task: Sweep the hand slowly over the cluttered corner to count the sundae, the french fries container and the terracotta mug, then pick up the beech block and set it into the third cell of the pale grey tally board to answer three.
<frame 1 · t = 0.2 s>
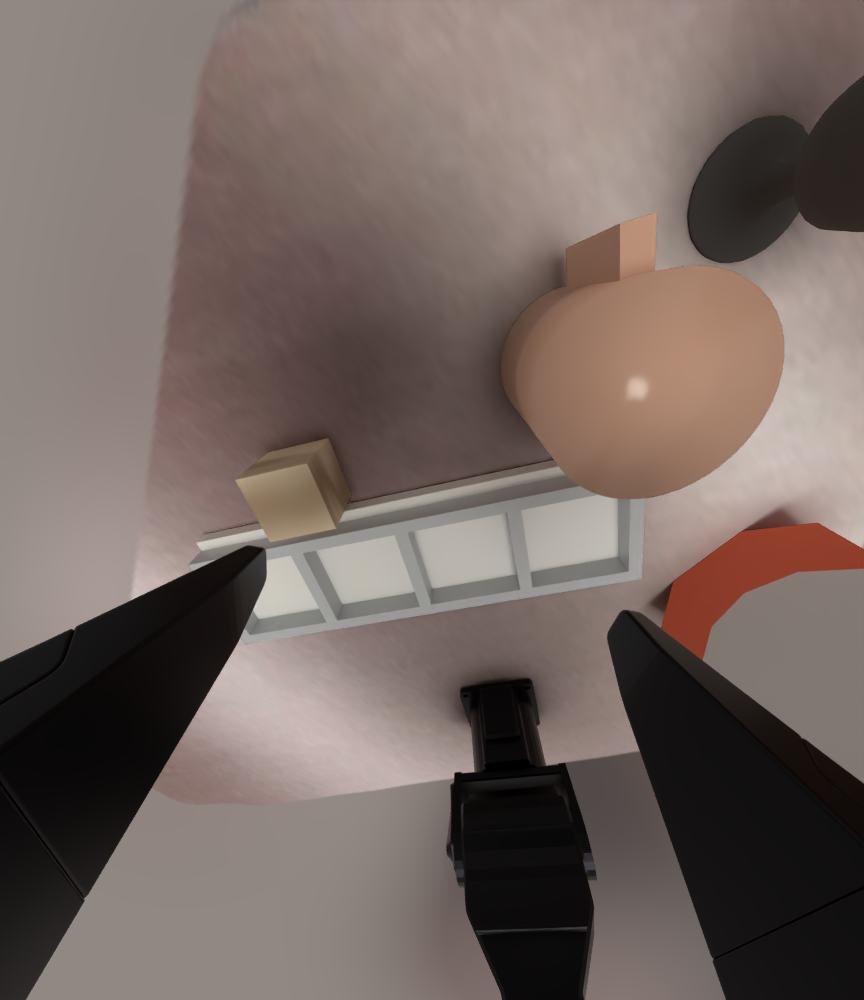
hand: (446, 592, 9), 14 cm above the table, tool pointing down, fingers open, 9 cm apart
french fries container: (723, 570, 26), on the table
terracotta mug: (566, 361, 19), on the table
beech block: (311, 474, 22), on the table
tally board: (416, 548, 25), on the table
sundae: (742, 197, 16), on the table
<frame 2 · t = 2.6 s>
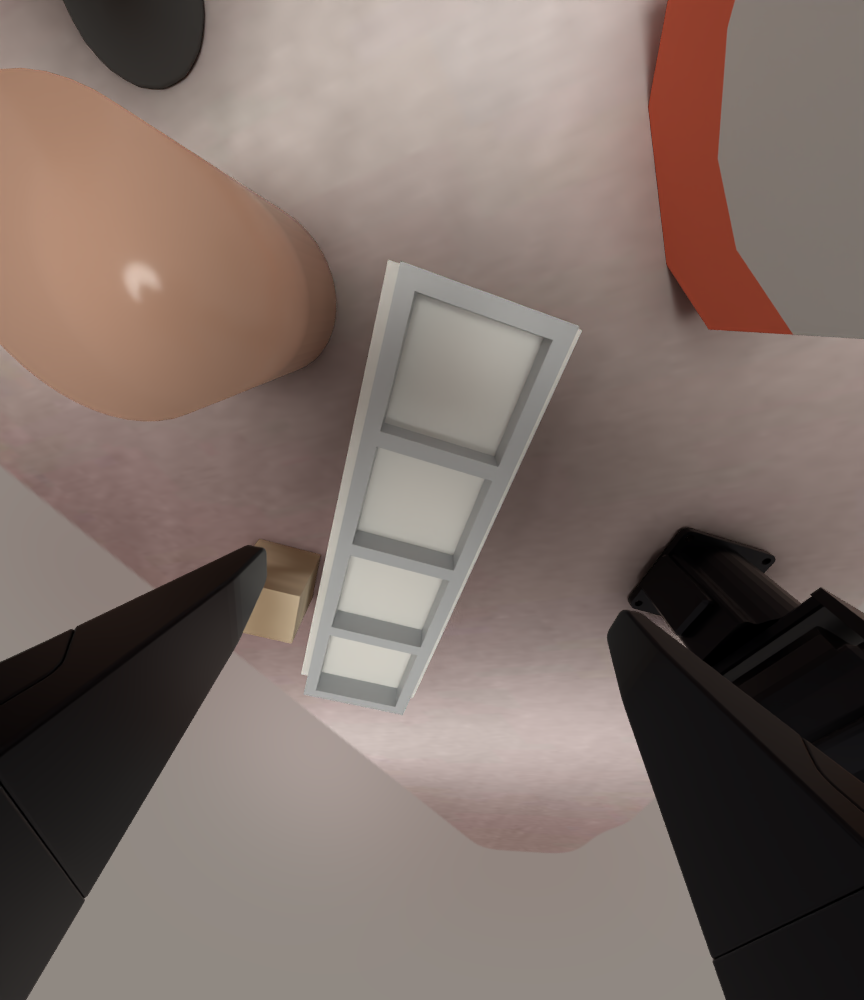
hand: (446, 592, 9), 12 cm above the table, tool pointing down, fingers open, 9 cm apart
french fries container: (713, 164, 14), on the table
terracotta mug: (261, 294, 17), on the table
beech block: (287, 569, 24), on the table
tally board: (405, 538, 23), on the table
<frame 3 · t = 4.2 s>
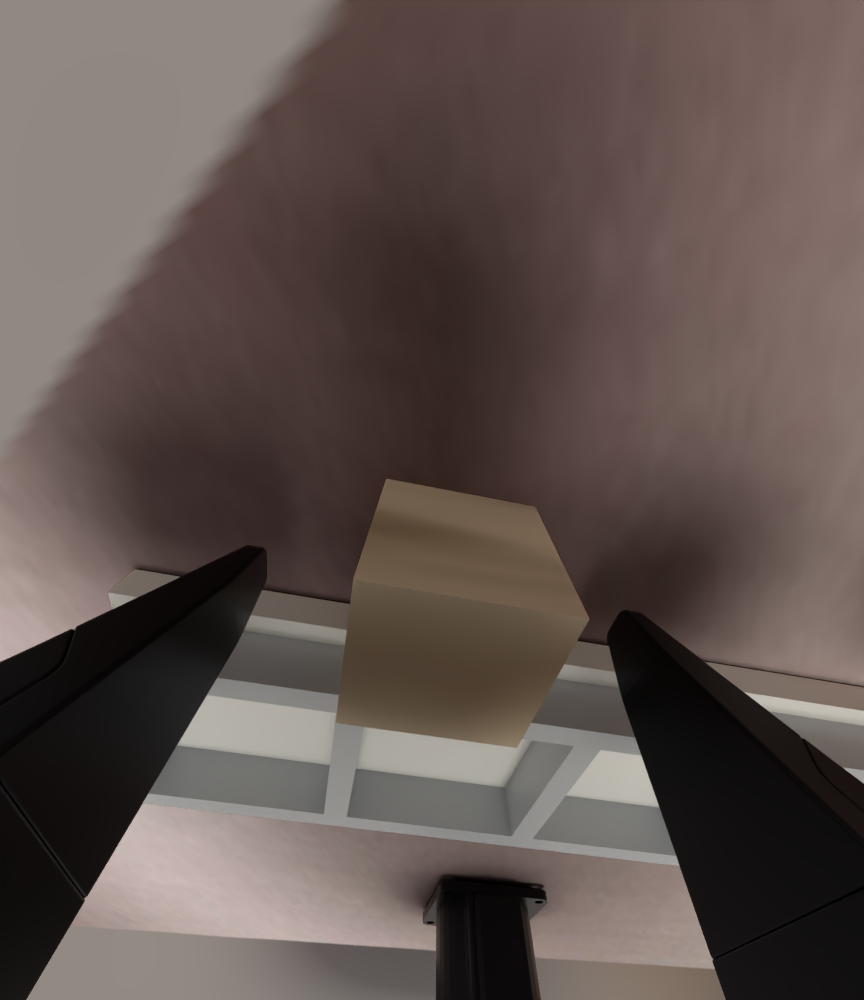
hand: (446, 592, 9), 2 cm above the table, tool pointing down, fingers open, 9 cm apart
beech block: (445, 551, 10), on the table
tally board: (533, 720, 14), on the table
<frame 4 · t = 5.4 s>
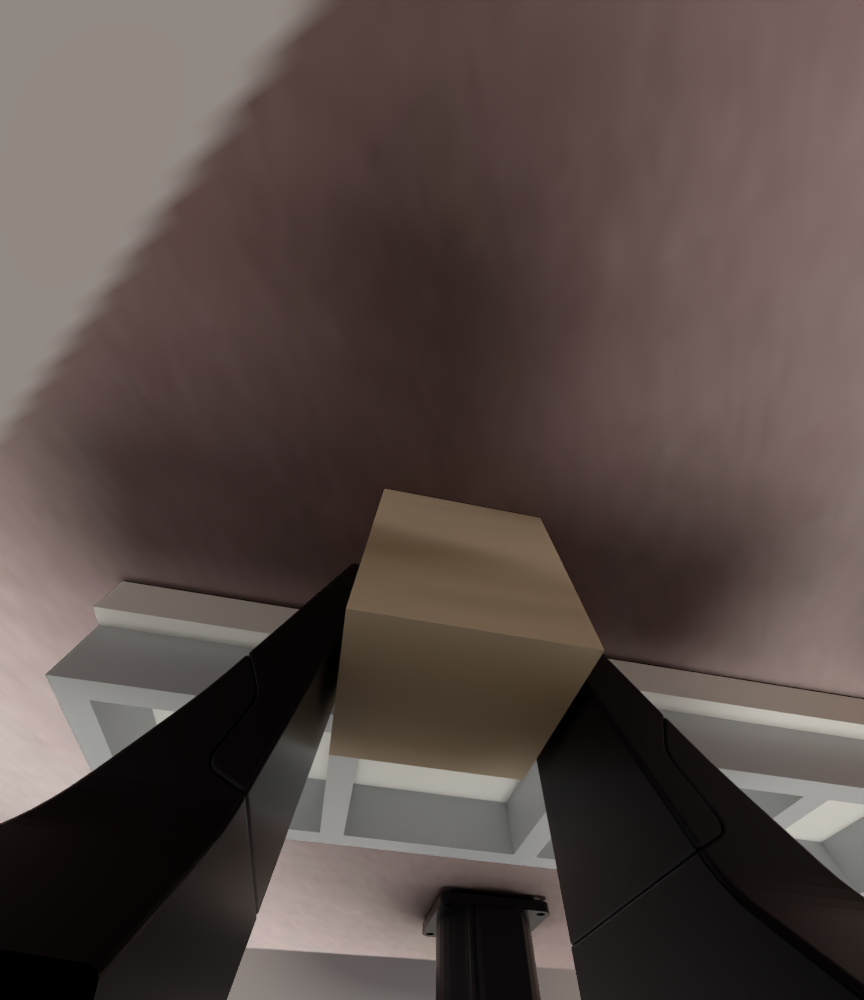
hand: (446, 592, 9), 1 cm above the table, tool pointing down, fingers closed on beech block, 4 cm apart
beech block: (446, 565, 10), on the table, touching gripper
tally board: (535, 734, 13), on the table
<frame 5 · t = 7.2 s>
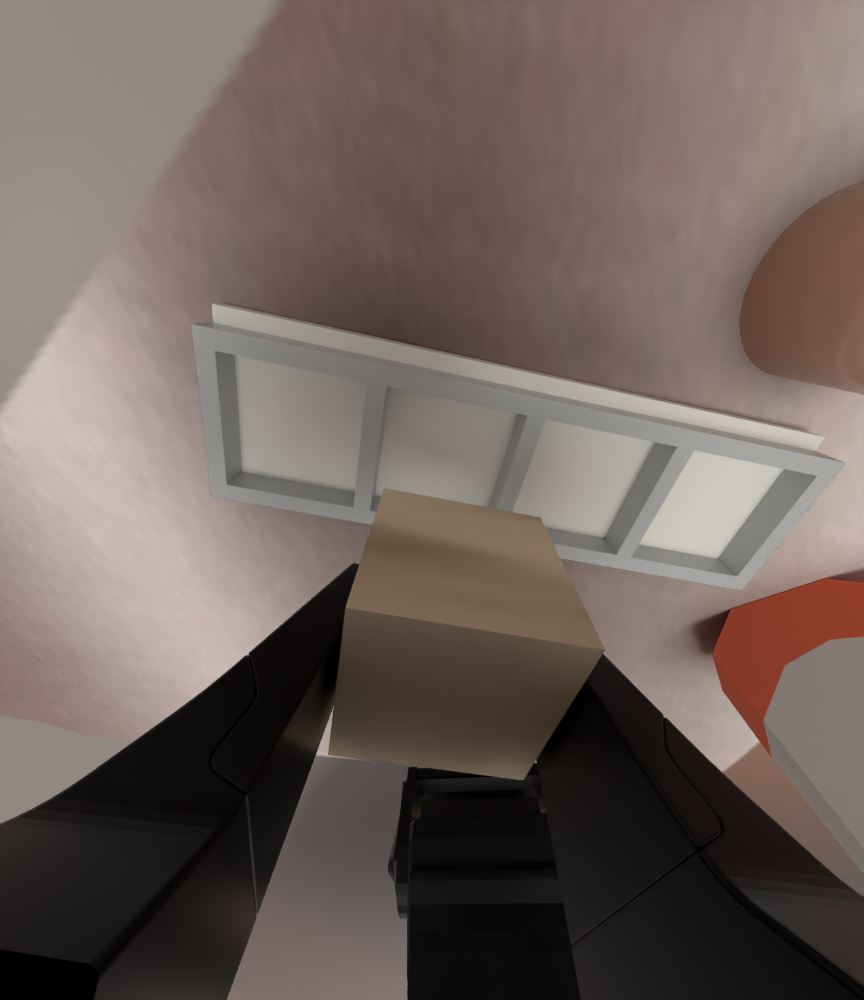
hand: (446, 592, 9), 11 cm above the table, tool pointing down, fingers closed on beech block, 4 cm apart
french fries container: (777, 613, 24), on the table
terracotta mug: (832, 290, 15), on the table
beech block: (446, 565, 10), point 10 cm above the table, touching gripper
tally board: (505, 459, 19), on the table
when the fingers open (3 cm above the table, at t = 9.3 s): beech block drops 1 cm, resting on tally board.
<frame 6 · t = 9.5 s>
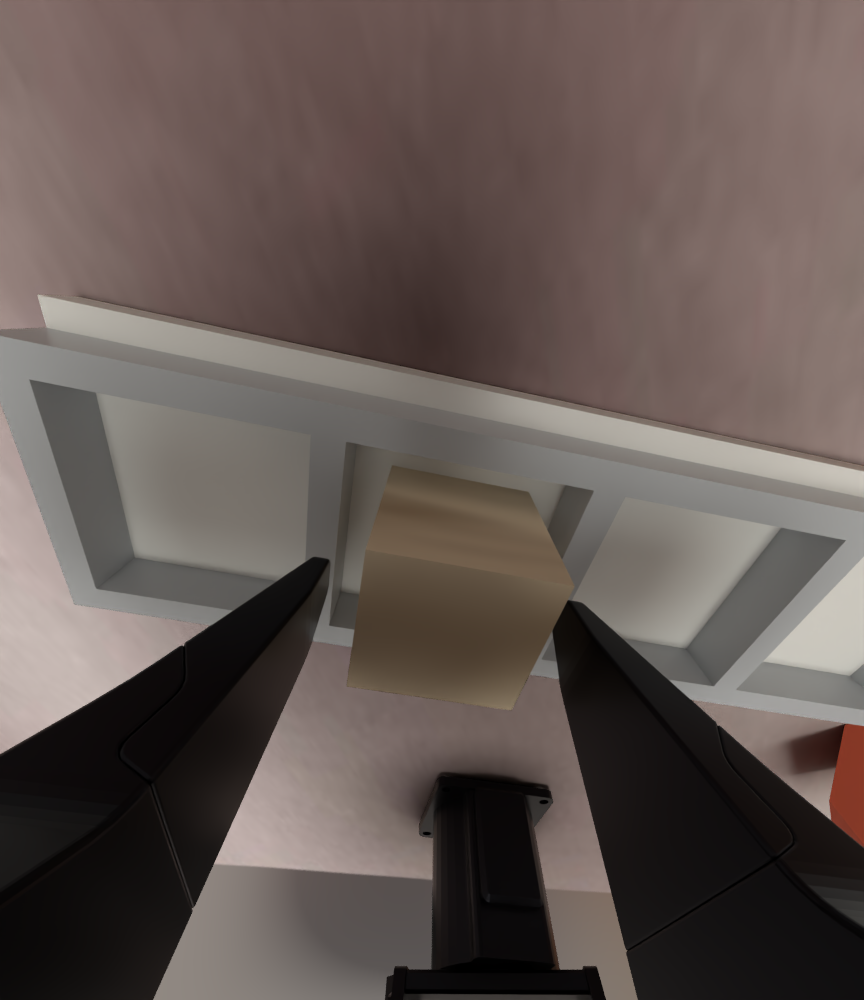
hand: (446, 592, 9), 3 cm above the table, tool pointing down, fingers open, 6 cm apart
beech block: (446, 536, 11), point 1 cm above the table, touching tally board
tally board: (541, 537, 12), on the table
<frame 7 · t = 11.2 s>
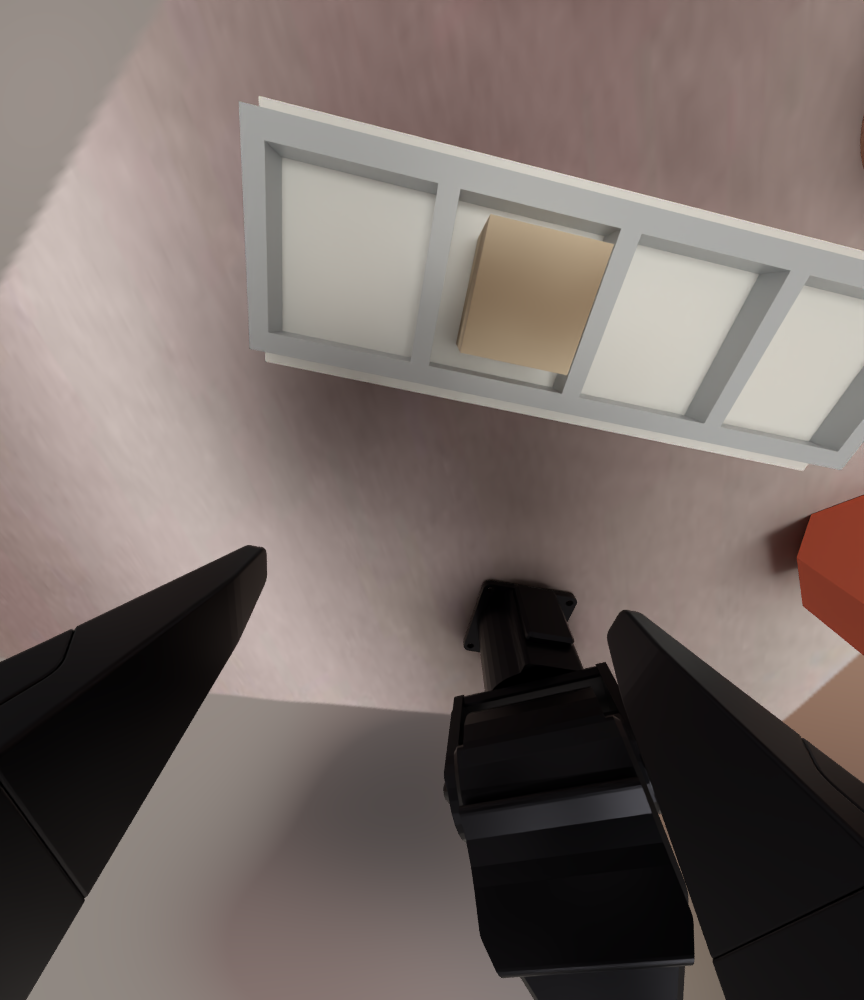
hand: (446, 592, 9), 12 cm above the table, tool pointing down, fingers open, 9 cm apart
french fries container: (861, 521, 22), on the table
beech block: (511, 303, 15), point 1 cm above the table, touching tally board
tally board: (577, 319, 17), on the table
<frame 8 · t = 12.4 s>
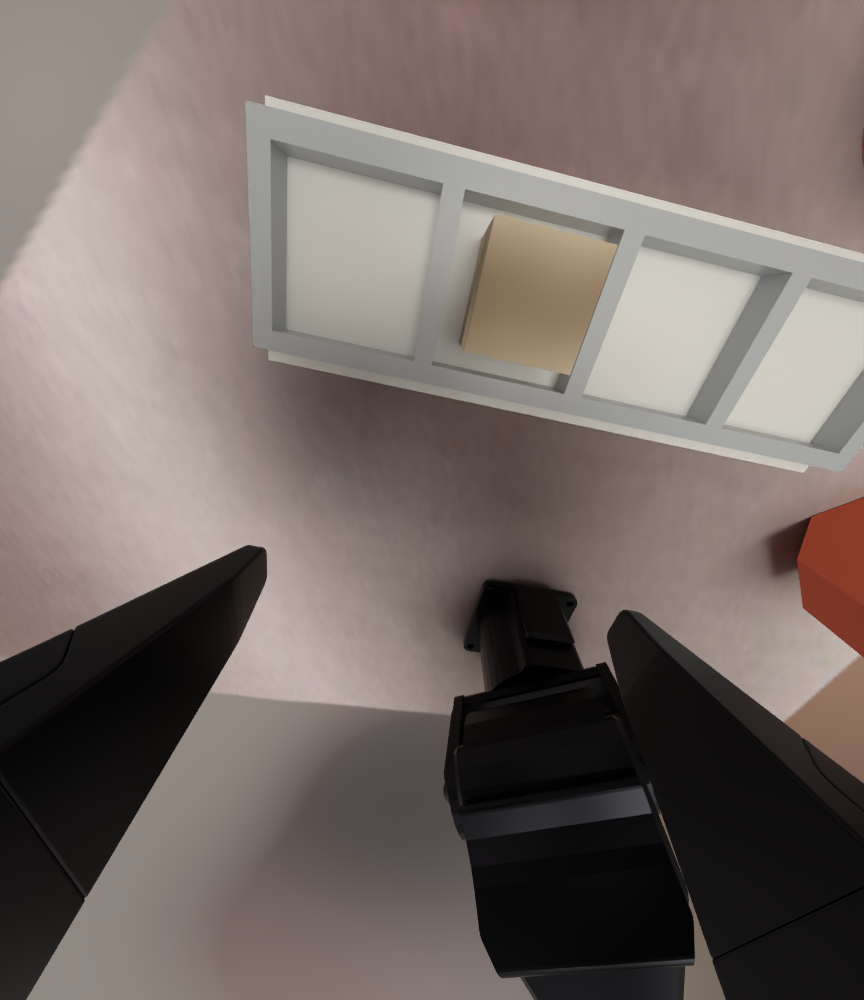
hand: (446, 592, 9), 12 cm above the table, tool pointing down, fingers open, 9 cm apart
french fries container: (861, 523, 22), on the table
beech block: (514, 304, 16), point 1 cm above the table, touching tally board
tally board: (579, 320, 17), on the table
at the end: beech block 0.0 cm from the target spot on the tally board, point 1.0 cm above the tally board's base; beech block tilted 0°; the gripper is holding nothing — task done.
